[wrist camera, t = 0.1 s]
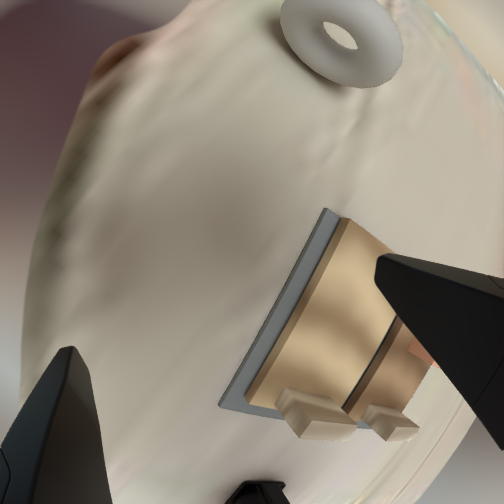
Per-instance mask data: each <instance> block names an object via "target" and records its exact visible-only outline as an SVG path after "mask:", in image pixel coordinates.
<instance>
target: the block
mask: <svg viewBox="0 0 504 504" xmlns="http://www.w3.org/2000/svg"><path fill="white" fill-rule="evenodd" d="M407 351H409V352H410V353H412V354H414V355H415V356H417V357H419V358H420V359H422V360H424V361H425V362H427V363H429V364H431V365H433V366H435V367H438V368H440V367H439V366H438V364H437V363H436V362H435V361H434V359H433V358H432V357H431V356H430V355H429V353H428V352H427V351H426V350H425V348H424V347H423V346H422V345H421V344H420V342H419V341H418V340H417V339H416V338H414V339H413V341H412V343H411V345H410V347H409V349H408V350H407ZM440 369H441V368H440Z"/></svg>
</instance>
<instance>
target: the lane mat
mask: <svg viewBox="0 0 504 504" xmlns="http://www.w3.org/2000/svg"><path fill="white" fill-rule="evenodd" d="M340 220H341V217H339V216H338V215H336V214H335V213H334V212H332V211H331V210H329V209H328V208H324V210H323V212H322V214H321V216H320V218H319V220H318V222H317V224H316V226H315V228H314V230H313V232H312V234H311V236H310V238H309V240H308V242H307V244H306V246H305V248H304V250H303V252H302V254H301V256H300V257H299V259H298V261H297V263H296V265H295V267H294V269H293V271H292V273H291V275H290V277H289V278H288V280H287V282H286V284H285V286H284V288H283V290H282V292H281V294H280V295H279V297H278V299H277V301H276V303H275V305H274V307H273V308H272V310H271V312H270V314H269V316H268V318H267V319H266V321H265V323H264V325H263V327H262V328H261V330H260V332H259V334H258V336H257V337H256V339H255V341H254V343H253V345H252V346H251V348H250V350H249V352H248V353H247V355H246V357H245V359H244V361H243V362H242V364H241V366H240V368H239V369H238V371H237V373H236V375H235V376H234V378H233V380H232V381H231V383H230V385H229V387H228V388H227V390H226V392H225V393H224V395H223V397H222V398H221V400H220V402H219V404H218V405H219V407H220V408H224V409H229V410H233V411H238V412H243V413H248V414H253V415H258V416H263V417H269V418H275V419H281V420H285V419H284V418H283V416H282V415H281V413H280V412H279V411H278V410H276V409H270V408H265V407H260V406H256V405H251V404H249V403H248V402H247V400H246V398H245V397H244V396H245V395H246V393H247V391H248V390H249V388H250V386H251V385H252V383H253V381H254V380H255V378H256V376H257V375H258V373H259V371H260V370H261V368H262V366H263V365H264V363H265V361H266V359H267V358H268V356H269V354H270V353H271V351H272V349H273V347H274V346H275V344H276V342H277V340H278V339H279V337H280V335H281V333H282V331H283V330H284V328H285V326H286V324H287V322H288V321H289V319H290V317H291V315H292V313H293V312H294V310H295V308H296V306H297V304H298V302H299V301H300V299H301V297H302V295H303V293H304V291H305V289H306V287H307V286H308V284H309V282H310V280H311V278H312V276H313V274H314V272H315V270H316V268H317V266H318V264H319V262H320V261H321V259H322V257H323V255H324V253H325V251H326V249H327V247H328V245H329V243H330V241H331V239H332V237H333V235H334V233H335V231H336V229H337V227H338V224H339V222H340ZM396 318H397V314H396V315H395V317H394V319H393V321H392V323H391V325H390V326H389V328H388V330H387V332H386V334H385V336H384V337H383V339H382V341H381V343H380V345H379V346H378V348H377V350H376V352H375V353H374V355H373V357H372V359H371V360H370V362H369V364H368V365H367V367H366V369H365V370H364V372H363V374H362V375H361V377H360V378H359V380H358V382H357V383H356V385H355V386H354V388H353V389H352V391H351V393H350V394H349V396H348V397H347V399H346V400H345V402H344V403H343V405H342V406H341V409H343V407H344V406H345V404H346V403H347V401H348V400H349V398H350V397H351V395H352V394H353V392H354V391H355V389H356V388H357V386H358V385H359V383H360V381H361V380H362V378H363V377H364V375H365V373H366V372H367V370H368V368H369V367H370V365H371V363H372V362H373V360H374V358H375V357H376V355H377V353H378V351H379V350H380V348H381V346H382V344H383V343H384V341H385V339H386V337H387V335H388V333H389V332H390V330H391V328H392V326H393V324H394V322H395V320H396ZM355 422H356V423H357V424H358V426H357V428H363V429H372V428H371V427H369V426H368V425H367V424H366V423H365V422H362V421H355Z"/></svg>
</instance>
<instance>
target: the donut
mask: <svg viewBox="0 0 504 504" xmlns="http://www.w3.org/2000/svg"><path fill="white" fill-rule="evenodd" d="M323 22H330V23H334V24H336V25H338V26H340V27H342V28H343V29H345V30H346V31H347V32H348V33H349V34H350V35H351V36H352V37H353V39H354V40H355V42H356V44H357V46H358V49H357V50H355V49H349V48H346V47H344V46H342V45H340V44H338V43H337V42H336V41H335V40H333V39H332V38H331V37H330V36H329V35H328V33H327V32H326V30H325V28H324V26H323ZM280 24H281V27H282V30H283V34H284V37H285V39H286V40H287V42H288V44H289V45H290V47H291V49H292V50H293V51H294V52H295V54H296V55H297V56H298V57H299V58H300V59H301V60H302V61H303V62H304V63H305V64H306V65H308V66H309V67H310V68H311V69H313V70H314V71H315V72H317V73H318V74H320V75H322V76H324V77H325V78H327V79H329V80H331V81H333V82H336V83H339V84H341V85H344V86H350V87H356V88H371V87H377V86H380V85H382V84H384V83H385V82H387V81H389V80H391V79H392V78H393V77H394V76H395V74H396V72H397V71H398V69H399V68H400V66H401V64H402V59H403V42H402V39H401V36H400V33H399V30H398V27H397V25H396V23H395V22H394V20H393V19H392V17H391V16H390V14H389V13H388V12H387V10H386V9H385V8H384V7H383V6H382V5H381V4H379V3H378V2H377V1H376V0H285V1H284V3H283V4H282V6H281V14H280Z"/></svg>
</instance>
